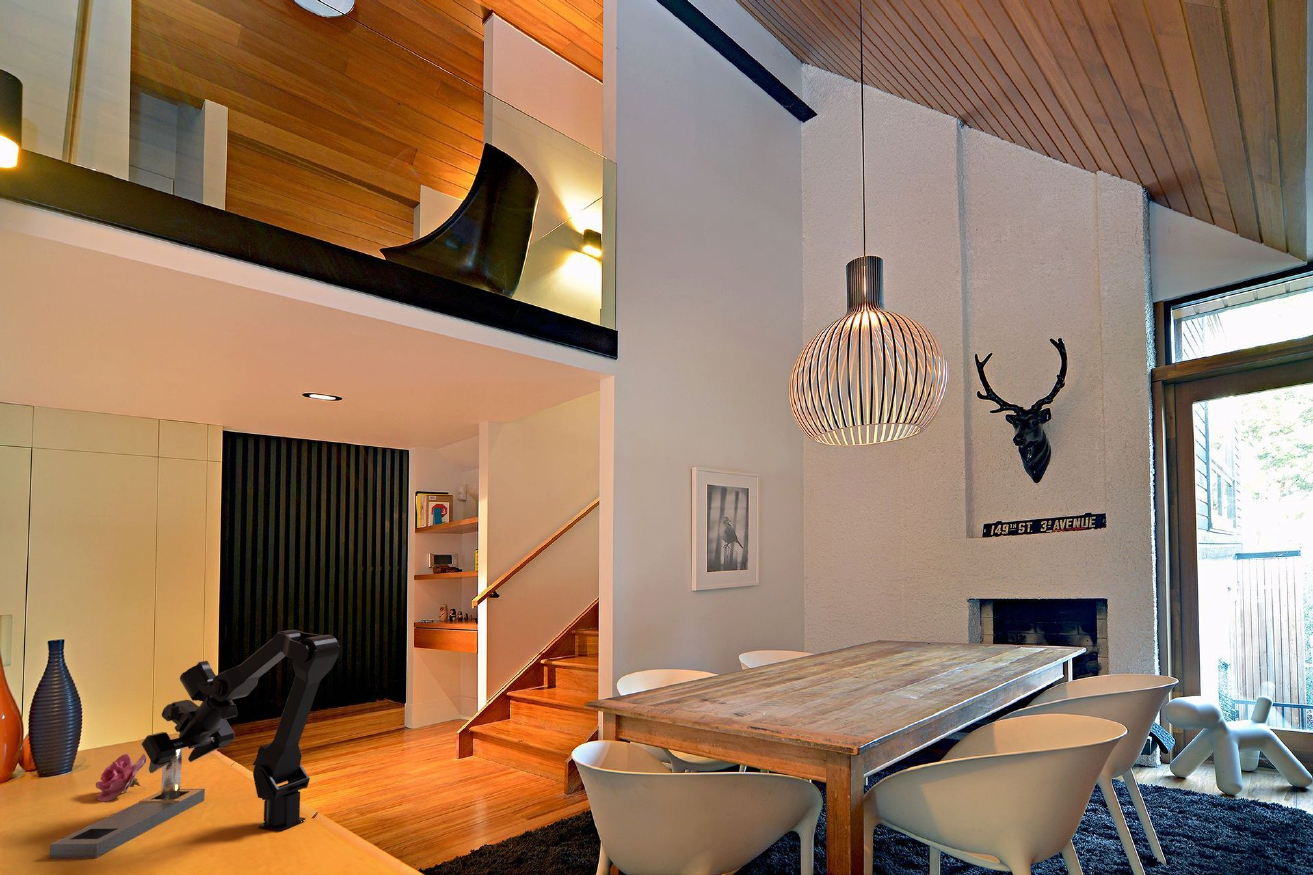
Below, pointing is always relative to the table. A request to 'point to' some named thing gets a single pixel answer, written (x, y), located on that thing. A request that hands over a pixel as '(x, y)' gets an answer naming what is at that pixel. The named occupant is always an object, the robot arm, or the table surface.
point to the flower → (119, 777)
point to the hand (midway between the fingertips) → (170, 765)
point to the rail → (124, 825)
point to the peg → (172, 777)
